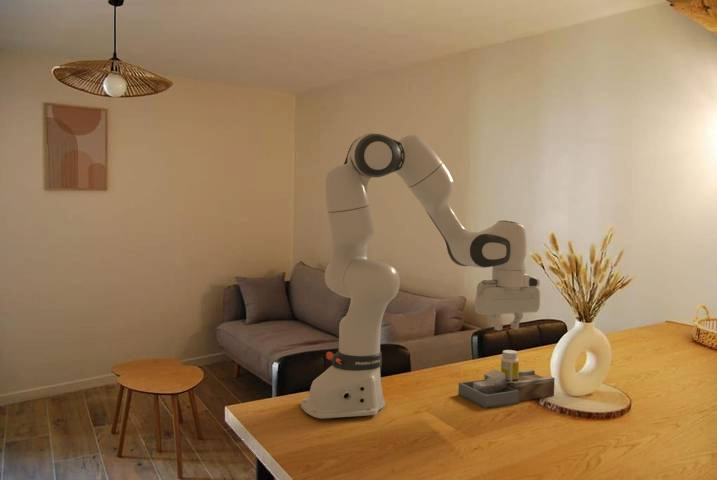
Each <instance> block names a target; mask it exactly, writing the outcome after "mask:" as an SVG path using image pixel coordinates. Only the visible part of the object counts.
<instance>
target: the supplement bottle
mask: <svg viewBox="0 0 717 480" xmlns="http://www.w3.org/2000/svg"><path fill="white" fill-rule="evenodd" d="M501 354H502V355H501V356H502V357H501V358H500V371H501V372H503V373H505V378H506V383H512V382H517V381H519V371H520V370H519V369H520V367H519V366H520V365H519V364H520V360H519V358H518V351H517V350H512V349H505V350H502V353H501Z"/></svg>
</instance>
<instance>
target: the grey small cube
mask: <svg viewBox="0 0 717 480" xmlns="http://www.w3.org/2000/svg"><path fill="white" fill-rule="evenodd" d="M483 377H484V379H485V381H487V382H489V383H491V384H494V391H495V392H497V391H499V390H501V389H503V388H505V387H507V383H506V378H505V373H503V372H501V370H498V369H495V368H494V369H493V370H490V371H488V372H486V373H484V374H483Z"/></svg>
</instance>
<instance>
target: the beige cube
mask: <svg viewBox="0 0 717 480" xmlns="http://www.w3.org/2000/svg"><path fill="white" fill-rule="evenodd" d="M473 389H475V390H477V391H479V392H481V393H483V394H485V395H488V394H494V384H491V383H489V382H487V381H480V382H473Z"/></svg>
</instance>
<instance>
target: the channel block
mask: <svg viewBox="0 0 717 480" xmlns="http://www.w3.org/2000/svg"><path fill="white" fill-rule="evenodd" d="M535 371H536V370H534V369H527V370H519V381H517V382H512V383H507V386H509V387H511V388H513V389H516V390H518V391H519V402H520V401H521V402H522V401H527V400H534V399H540V397H541V398H545V397H544V396H548V397H553V396H555V377H553V376H548V377H544V376H541V375H538V374H536V372H535Z"/></svg>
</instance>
